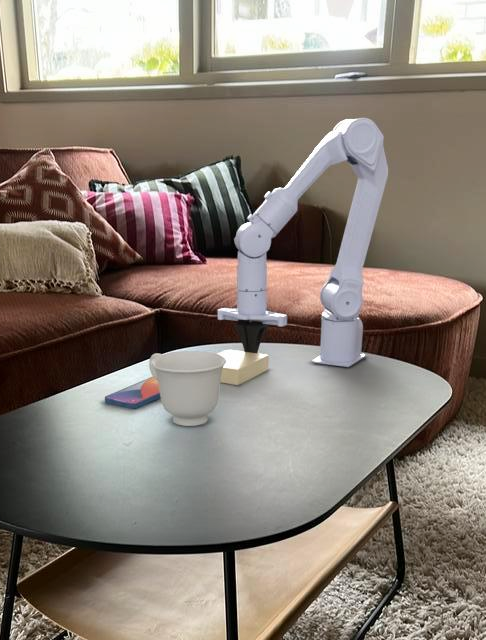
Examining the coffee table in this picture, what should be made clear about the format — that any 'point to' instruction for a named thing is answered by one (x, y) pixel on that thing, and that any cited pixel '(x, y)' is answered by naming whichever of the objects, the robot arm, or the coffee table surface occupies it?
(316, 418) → the coffee table surface
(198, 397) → the teacup
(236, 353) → the book
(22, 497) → the coffee table surface
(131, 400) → the smartphone
